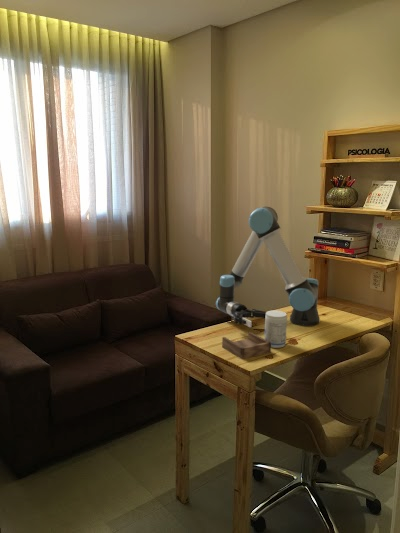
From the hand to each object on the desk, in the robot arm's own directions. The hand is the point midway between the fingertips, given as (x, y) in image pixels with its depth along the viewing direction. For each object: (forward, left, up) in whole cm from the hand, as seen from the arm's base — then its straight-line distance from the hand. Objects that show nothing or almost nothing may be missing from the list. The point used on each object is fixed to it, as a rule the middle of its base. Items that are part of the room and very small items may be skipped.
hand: (263, 322), depth 209 cm
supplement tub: (0, +9, -8) cm, 12 cm away
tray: (+15, +8, -8) cm, 18 cm away
